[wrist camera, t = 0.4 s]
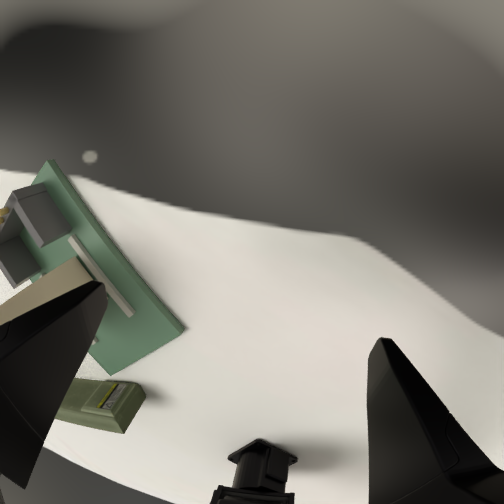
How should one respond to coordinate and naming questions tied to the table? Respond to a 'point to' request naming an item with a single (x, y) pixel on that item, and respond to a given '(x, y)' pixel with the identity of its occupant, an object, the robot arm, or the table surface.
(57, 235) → the board
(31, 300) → the plug
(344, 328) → the table surface
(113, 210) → the table surface
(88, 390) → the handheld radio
